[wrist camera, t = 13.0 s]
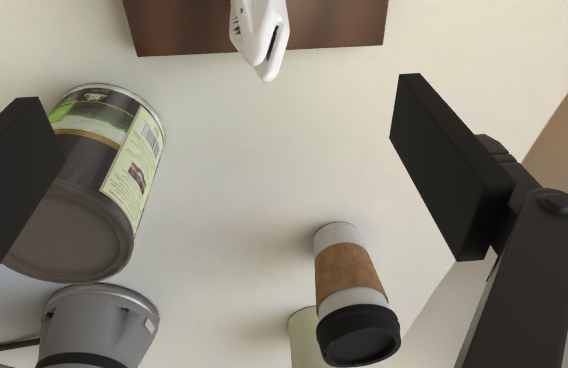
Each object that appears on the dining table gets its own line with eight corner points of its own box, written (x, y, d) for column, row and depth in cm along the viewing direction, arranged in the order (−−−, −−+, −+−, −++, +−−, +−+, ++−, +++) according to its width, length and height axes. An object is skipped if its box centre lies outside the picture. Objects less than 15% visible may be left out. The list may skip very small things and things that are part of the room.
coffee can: (31, 127, 37) (-63, 235, 26) (99, 59, 33) (23, 152, 22) (121, 190, 42) (75, 302, 31) (188, 138, 39) (162, 244, 28)
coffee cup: (305, 215, 46) (322, 331, 35) (374, 213, 47) (415, 327, 35) (301, 261, 51) (315, 375, 40) (364, 259, 52) (396, 371, 40)
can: (353, 307, 59) (372, 389, 50) (336, 339, 65) (350, 418, 55) (294, 303, 57) (302, 387, 48) (282, 336, 63) (287, 417, 54)
